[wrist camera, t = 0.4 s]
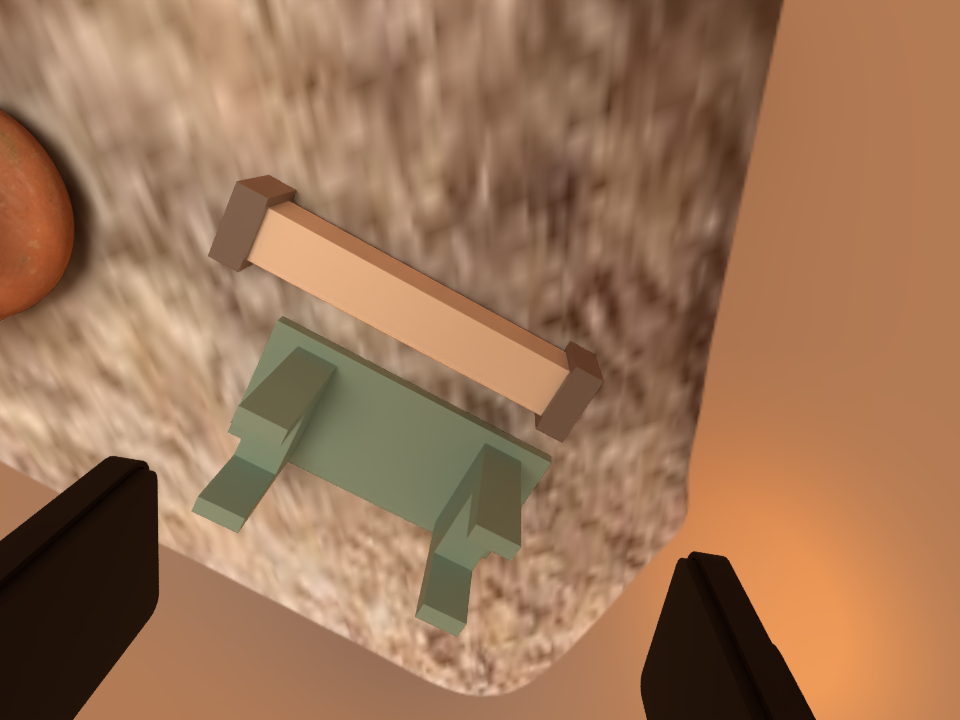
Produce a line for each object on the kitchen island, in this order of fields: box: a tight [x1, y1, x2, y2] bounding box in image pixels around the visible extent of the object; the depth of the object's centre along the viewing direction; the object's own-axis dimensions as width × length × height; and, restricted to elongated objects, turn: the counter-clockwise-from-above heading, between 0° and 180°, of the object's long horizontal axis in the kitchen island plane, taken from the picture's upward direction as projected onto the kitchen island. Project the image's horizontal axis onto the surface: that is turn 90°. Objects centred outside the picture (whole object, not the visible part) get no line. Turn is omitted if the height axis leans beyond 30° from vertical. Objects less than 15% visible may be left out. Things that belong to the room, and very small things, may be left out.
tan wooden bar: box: [208, 175, 604, 442], centre depth 41 cm, size 5×25×5 cm, turn 61°
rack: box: [192, 317, 551, 637], centre depth 42 cm, size 10×22×11 cm, turn 61°
